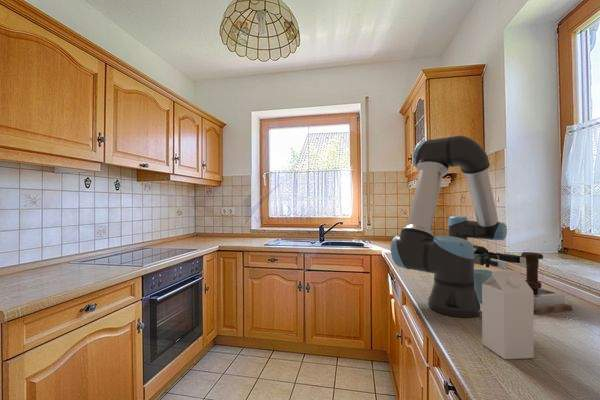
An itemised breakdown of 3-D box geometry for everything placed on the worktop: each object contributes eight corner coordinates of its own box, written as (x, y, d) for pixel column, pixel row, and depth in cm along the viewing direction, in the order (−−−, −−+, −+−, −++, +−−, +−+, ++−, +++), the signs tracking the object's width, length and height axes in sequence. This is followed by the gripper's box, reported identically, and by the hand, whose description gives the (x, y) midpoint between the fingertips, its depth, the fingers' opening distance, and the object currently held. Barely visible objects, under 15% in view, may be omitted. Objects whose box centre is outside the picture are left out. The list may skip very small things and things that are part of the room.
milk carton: (481, 344, 72) (481, 267, 73) (508, 343, 73) (508, 267, 73) (504, 360, 65) (504, 274, 65) (534, 358, 66) (533, 274, 66)
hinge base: (535, 314, 92) (535, 298, 92) (496, 299, 105) (496, 285, 105) (572, 310, 95) (572, 294, 95) (529, 296, 109) (529, 283, 109)
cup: (489, 297, 107) (489, 269, 107) (501, 305, 100) (501, 274, 100) (467, 297, 108) (467, 268, 108) (477, 304, 101) (477, 273, 101)
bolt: (545, 300, 97) (545, 255, 97) (528, 299, 98) (528, 254, 98) (535, 295, 103) (535, 252, 103) (519, 294, 104) (519, 251, 104)
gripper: (498, 261, 128) (550, 273, 107) (449, 264, 122) (493, 277, 101) (498, 244, 128) (550, 253, 107) (449, 246, 122) (493, 255, 101)
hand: (522, 265), depth 104 cm, fingers open, 13 cm apart
